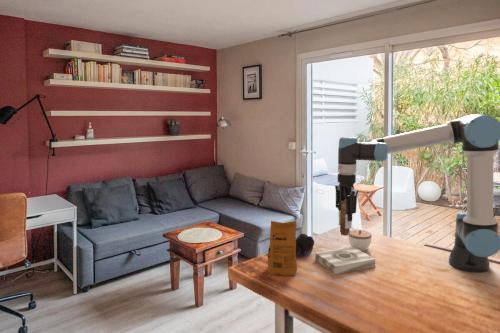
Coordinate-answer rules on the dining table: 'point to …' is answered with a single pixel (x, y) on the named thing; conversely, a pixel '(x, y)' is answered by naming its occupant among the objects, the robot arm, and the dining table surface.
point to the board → (344, 260)
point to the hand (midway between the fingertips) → (344, 226)
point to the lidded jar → (360, 239)
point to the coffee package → (282, 249)
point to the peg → (343, 219)
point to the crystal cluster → (304, 245)
